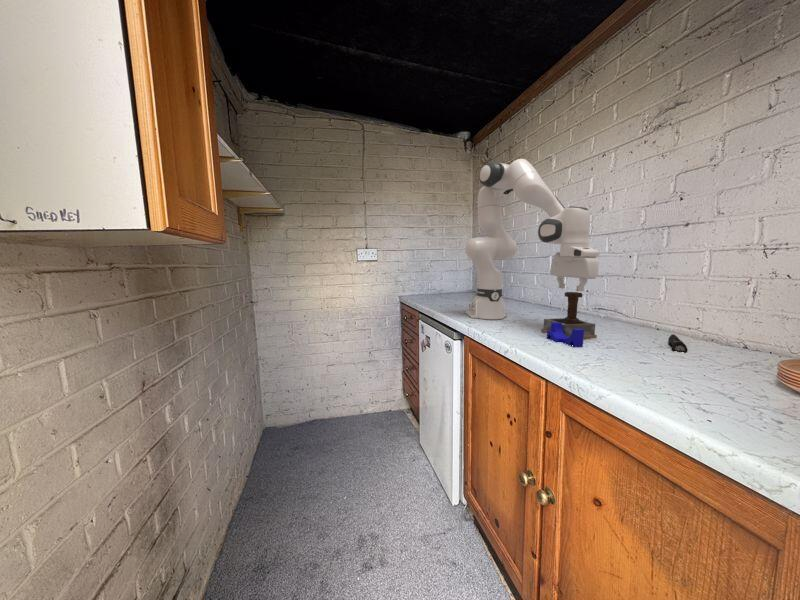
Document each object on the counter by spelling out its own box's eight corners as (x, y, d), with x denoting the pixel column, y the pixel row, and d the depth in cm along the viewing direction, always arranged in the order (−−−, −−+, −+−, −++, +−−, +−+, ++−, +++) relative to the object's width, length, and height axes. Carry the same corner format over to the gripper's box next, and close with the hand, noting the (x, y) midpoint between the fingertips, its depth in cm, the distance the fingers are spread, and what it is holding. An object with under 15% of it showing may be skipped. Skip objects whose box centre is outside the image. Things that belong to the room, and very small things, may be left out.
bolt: (581, 334, 111) (584, 293, 109) (565, 333, 112) (568, 293, 110) (575, 331, 117) (578, 291, 115) (560, 330, 118) (563, 291, 116)
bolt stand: (541, 331, 121) (542, 318, 120) (570, 330, 123) (571, 317, 122) (564, 340, 108) (565, 325, 107) (596, 338, 110) (597, 324, 110)
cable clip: (546, 338, 111) (547, 322, 110) (557, 338, 111) (558, 322, 111) (570, 348, 99) (571, 330, 98) (582, 347, 100) (584, 329, 99)
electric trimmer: (680, 343, 105) (681, 334, 105) (687, 354, 93) (689, 344, 92) (665, 341, 107) (666, 333, 107) (671, 352, 95) (672, 342, 94)
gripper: (547, 252, 121) (545, 286, 123) (587, 251, 101) (583, 292, 103) (561, 252, 122) (559, 286, 124) (603, 251, 102) (599, 292, 104)
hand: (570, 289), depth 113 cm, fingers open, 8 cm apart
